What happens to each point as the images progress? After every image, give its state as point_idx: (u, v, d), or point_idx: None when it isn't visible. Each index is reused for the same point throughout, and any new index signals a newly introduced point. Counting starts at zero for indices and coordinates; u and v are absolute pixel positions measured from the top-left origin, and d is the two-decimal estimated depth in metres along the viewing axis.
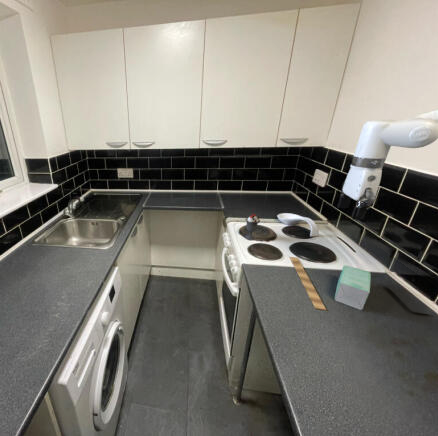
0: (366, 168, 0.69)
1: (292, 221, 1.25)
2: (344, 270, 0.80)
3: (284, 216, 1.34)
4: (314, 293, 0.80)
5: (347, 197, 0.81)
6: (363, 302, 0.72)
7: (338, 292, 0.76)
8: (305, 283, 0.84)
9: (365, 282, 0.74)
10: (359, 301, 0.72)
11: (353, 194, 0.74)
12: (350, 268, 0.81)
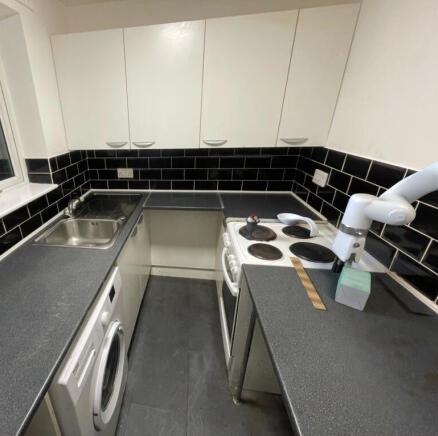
0: (352, 236, 0.78)
1: (292, 221, 1.25)
2: (344, 271, 0.80)
3: (284, 216, 1.34)
4: (314, 293, 0.80)
5: None
6: (364, 303, 0.71)
7: (338, 293, 0.75)
8: (305, 283, 0.84)
9: (365, 283, 0.74)
10: (360, 301, 0.72)
11: (340, 255, 0.82)
12: (350, 268, 0.80)
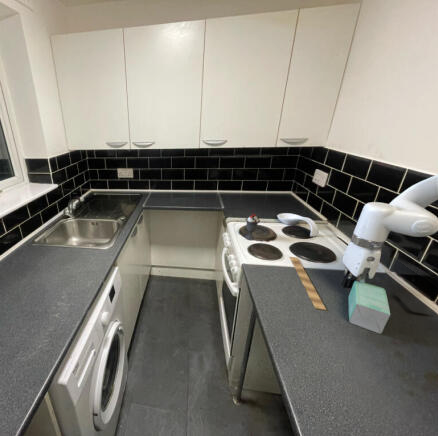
0: (365, 249, 0.70)
1: (292, 221, 1.25)
2: (357, 287, 0.72)
3: (284, 216, 1.34)
4: (314, 293, 0.80)
5: None
6: (383, 325, 0.64)
7: (354, 314, 0.67)
8: (305, 283, 0.84)
9: (382, 302, 0.66)
10: (378, 324, 0.64)
11: (352, 269, 0.75)
12: (362, 284, 0.73)
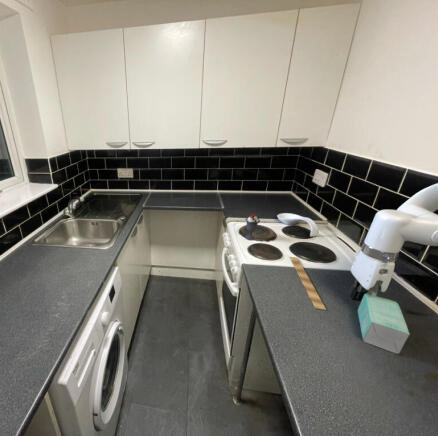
0: (378, 260, 0.65)
1: (292, 221, 1.25)
2: (368, 301, 0.67)
3: (284, 216, 1.34)
4: (314, 293, 0.80)
5: None
6: (401, 345, 0.58)
7: (368, 332, 0.62)
8: (305, 283, 0.84)
9: (398, 318, 0.61)
10: (396, 343, 0.59)
11: (362, 281, 0.69)
12: (373, 298, 0.68)
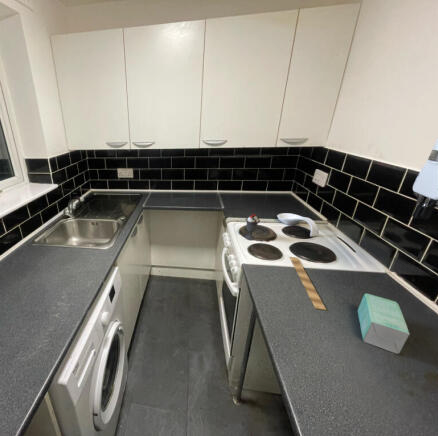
0: None
1: (292, 221, 1.25)
2: (368, 301, 0.67)
3: (284, 216, 1.34)
4: (314, 293, 0.80)
5: None
6: (401, 345, 0.58)
7: (368, 332, 0.62)
8: (305, 283, 0.84)
9: (398, 318, 0.61)
10: (396, 343, 0.59)
11: (430, 193, 0.66)
12: (373, 298, 0.68)
